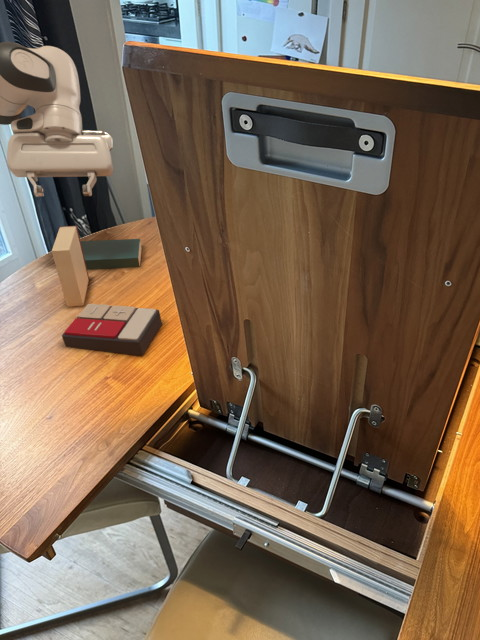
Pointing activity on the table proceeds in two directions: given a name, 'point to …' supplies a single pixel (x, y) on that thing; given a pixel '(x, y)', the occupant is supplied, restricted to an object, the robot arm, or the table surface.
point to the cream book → (71, 265)
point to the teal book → (112, 253)
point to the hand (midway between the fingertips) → (63, 195)
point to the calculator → (113, 329)
